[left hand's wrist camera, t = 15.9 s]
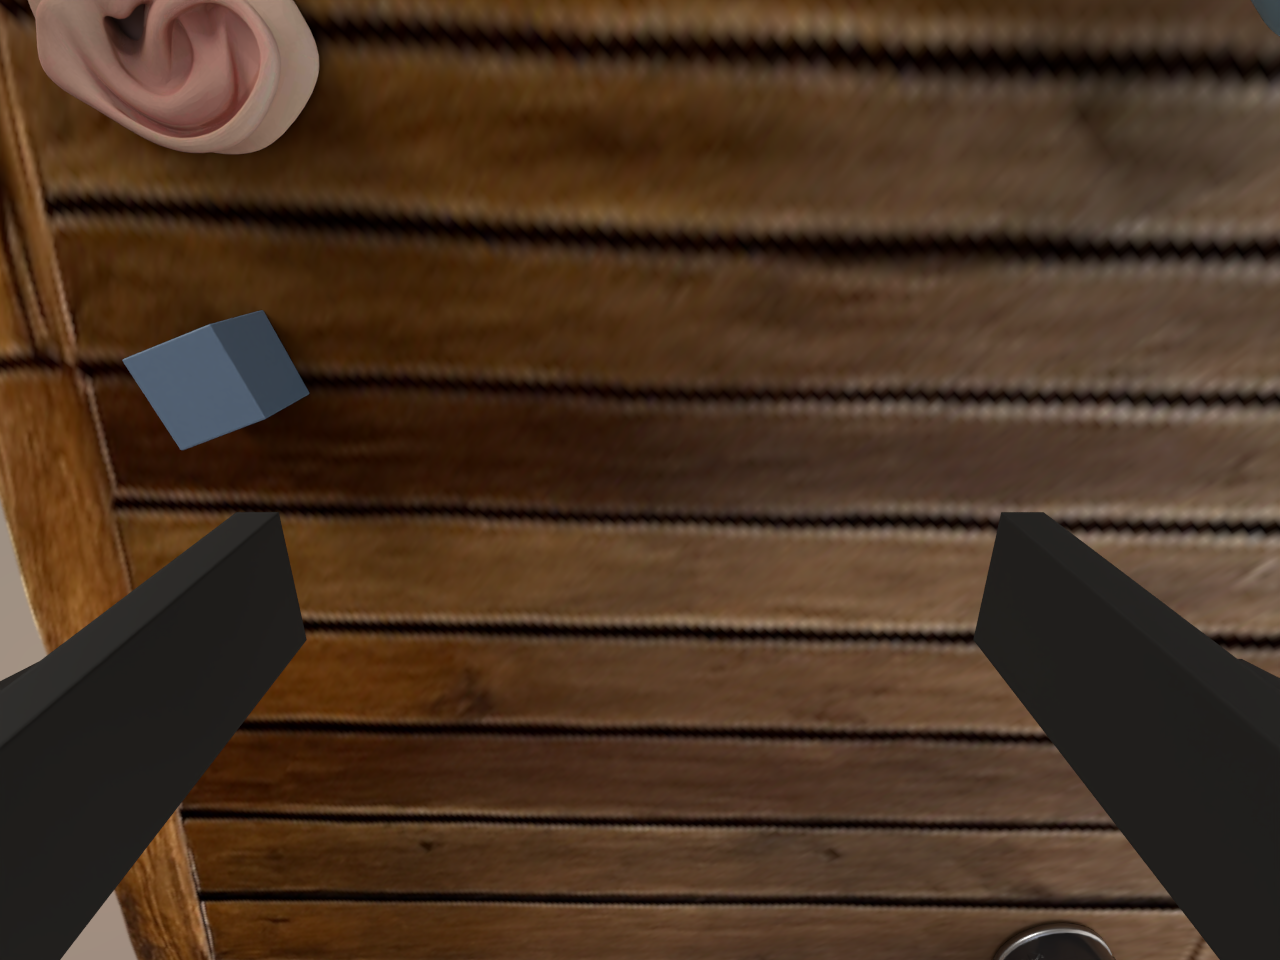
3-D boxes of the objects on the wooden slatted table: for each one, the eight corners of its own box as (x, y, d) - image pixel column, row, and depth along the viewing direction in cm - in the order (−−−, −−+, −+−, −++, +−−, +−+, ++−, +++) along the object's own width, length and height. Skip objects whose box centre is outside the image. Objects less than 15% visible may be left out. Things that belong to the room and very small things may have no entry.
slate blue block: (263, 309, 37) (209, 324, 32) (310, 393, 39) (265, 419, 34) (185, 341, 38) (121, 359, 33) (234, 422, 39) (180, 451, 35)
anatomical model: (-128, -109, 27) (92, -287, 25) (-35, -71, 30) (162, -224, 29) (112, 213, 31) (314, 83, 29) (168, 212, 35) (351, 97, 33)
